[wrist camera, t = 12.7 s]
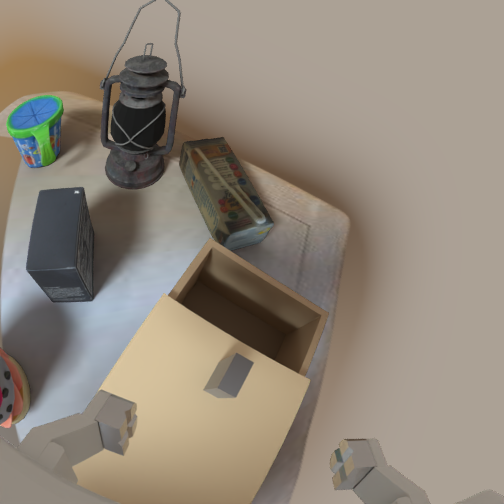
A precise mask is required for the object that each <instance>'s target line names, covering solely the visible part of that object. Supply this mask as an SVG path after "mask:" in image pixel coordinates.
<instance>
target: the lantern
mask: <svg viewBox="0 0 504 504" xmlns="http://www.w3.org/2000/svg"><path fill="white" fill-rule="evenodd" d="M154 1H156V0H152V1H150V2H148V3H147V4H145V5H143V6H142V7H140V8H139V10H138V12H137V14H136V16H135V18H134V20H133V22H132V24H131V27H130V29H129V31H128V33H127V35H126V37H125V40H124V42H123V44H122V45H121V47H120V48H119V50H118V51H117V53H116V55H115V57H114V59H113V62H112V64H111V66H110V69H109V71H108V74H107V76H106V78H104V80H102V81H101V83H100V89H104V98H103V108H102V121H101V142H102V145H103V146H104V147H106V148H108V149H111V151H110V154H109V156H108V158H107V162H106V166H105V171H106V175H107V177H108V179H109V180H110V181H111V182H112V183H113V184H115V185H117V186H119V187H121V188H125V189H141V188H145V187H148V186H150V185H152V184H154V183H155V182H157V181H158V180H159V179H160V177H161V176H162V174H163V172H164V159H163V156H162V155H163V154H168V153H169V152H170V151H171V149H172V146H173V142H174V134H175V126H176V119H177V111H178V105H179V98H184V97H185V94H186V89H185V87H184V86H183V77H182V69H181V59H180V54H179V50H178V46H177V38H178V29H179V21H180V14H181V13H180V10H179V9H177V8H176V7H175V6H174V5H173V4H172V3H171V2H169V1H168V0H165V1H166V2H167V3H168V4H170V5H171V6H172V7H173V8H174V9H175V10H176V11H177V12H178V19H177V27H176V35H175V47H176V51H177V56H178V60H179V69H180V78H181V86H180V85H179V84H178V83H177V82H174V81H170V80H168V78H169V76H168V72H167V71H166V70H165V67H167V63H166V62H165V61H164V60H163V59H161V58H158V57H156V56H151V53H152V48H153V43H148V44H146V45H145V50H144V55H142V56H136V57H133V58H130V59H128V60H127V61H126V62H125V67H126V68H125V69H124V70H122V71H121V72H120V75H116V76H115V75H114V76H111V77H110V78H108V76H109V73H110V71H111V69H112V66H113V64H114V62H115V60H116V57H117V55H118V53H119V52H120V50H121V48H122V47H123V46H124V44H125V42H126V40H127V38H128V35H129V33H130V31H131V29H132V27H133V25H134V23H135V21H136V19H137V16H138V14H139V13H140V11H141V9H142V8H144V7H145V6H147V5H149V4H150V3H152V2H154ZM150 44H152V47H151V52H150V55H145V52H146V46H147V45H150ZM107 78H108V79H107ZM115 82H121V84H120V90H121V91H122V92H121V93H120V98H119V100H118V101H117V102H116V103H115V104H114V106H113V110H112V112H113V114H112V120H111V135H112V137H113V139H114V141H115V142H113V141H111V140H109V139H108V119H109V106H110V95H111V87H112V84H113V83H115ZM165 87H167V88H170V89H172V90H173V91H174V95H173V104H172V109H171V116H170V123H169V130H168V138H167V144H166V146H162V147H159V146H158V145H157V144H156V143H157V141H159V140H160V138H161V137H162V135H163V133H164V128H165V117H166V114H165V113H166V111H165V103H164V102H163V101H162V93H161V92H162V91H163V90H164V88H165ZM181 87H182V88H181Z"/></svg>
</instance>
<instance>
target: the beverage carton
mask: <svg viewBox="0 0 504 504" xmlns="http://www.w3.org/2000/svg"><path fill="white" fill-rule="evenodd" d="M179 166H180V168H181V171H182V173H183V175H184V178H185V180H186V182H187V184H188V186H189V189H190V191H191V193H192V195H193V197H194V199H195V201H196V203H197V205H198V208H199V210H200V212H201V214H202V216H203V218H204V221H205V223H206V225H207V227H208V229H209V231H210V233H211V235H212V237H213V238H214V240H215V241H216V242H217V243H219V244H220V245H222V246H223V247H225V248H227V249H228V250H230V251H232V250H235V249H239V248H242V247H246V246H249V245H253V244H256V243H259V242H261V241H262V240H263V239H264V238H265V237H266V235H267V233H268V231H269V230H270V229H271V228H272V226H273V225H274V223H273V221H272V219H271V217H270V216H269V214H268V212H267V210H266V208H265V207H264V205H263V203H262V201H261V199H260V197H259V196H258V194H257V192H256V190H255V189H254V187H253V185H252V184H251V182H250V180H249V178H248V176H247V175H246V173H245V171H244V170H243V168H242V166H241V165H240V163H239V161H238V160H237V158H236V157H235V155H234V153H233V152H232V150H231V148H230V147H229V145H228V143H227V142H226V141H225V139H224V138H223V137H221V138H214V139H204V140H203V139H202V140H197V141H187V142H184V143H183V146H182V151H181V156H180V162H179Z"/></svg>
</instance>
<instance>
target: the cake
mask: <svg viewBox="0 0 504 504" xmlns="http://www.w3.org/2000/svg"><path fill="white" fill-rule="evenodd" d="M30 400H31V397H30V386H29V383H28V380H27V376H26V374H25V373H24V371H23V369H22V367H21V366H20V365H19V363H18V362H17V361H16V360H15V359H14V358H13V357H11V356H9V355H8V354H6V353H5V352H4V351H3V349H1V348H0V425H1V426H3V427H6V428H10V427H11V425H12V424H16V423H18V422H19V421H21V420H22V419H24V417H25V415H26V414H27V412H28V410H29V405H30Z"/></svg>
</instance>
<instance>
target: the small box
mask: <svg viewBox="0 0 504 504" xmlns="http://www.w3.org/2000/svg"><path fill="white" fill-rule="evenodd" d="M93 249H94V231H93V227H92V224H91V220H90V216H89V211H88V207H87V202H86V197H85V192H84V188H83V187H74V188H61V189H49V190H41V191H40V192H39V196H38V200H37V205H36V209H35V214H34V219H33V224H32V230H31V236H30V242H29V249H28V256H27V263H26V270H27V272H28V273H29V274H30V275H31V277H32V278H33V279H34V280H35V281H36V283H37V284H38V285H39V286H40V287H41V289H42V290H43V291H44V292H45V293H46V295H47V296H48V297H49V298H50V299H51V301H52V302H86V301H92V300H93Z"/></svg>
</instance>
